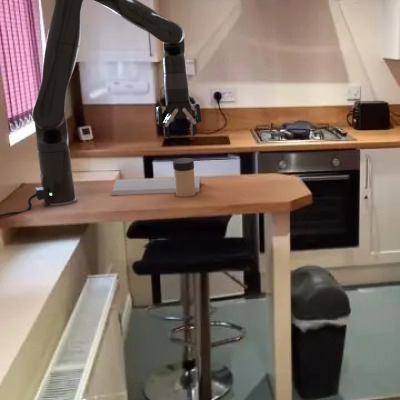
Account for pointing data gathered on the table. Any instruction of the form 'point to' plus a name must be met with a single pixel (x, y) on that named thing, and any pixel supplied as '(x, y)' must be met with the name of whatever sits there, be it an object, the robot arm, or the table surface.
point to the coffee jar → (185, 183)
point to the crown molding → (148, 186)
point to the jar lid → (183, 164)
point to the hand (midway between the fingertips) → (180, 136)
